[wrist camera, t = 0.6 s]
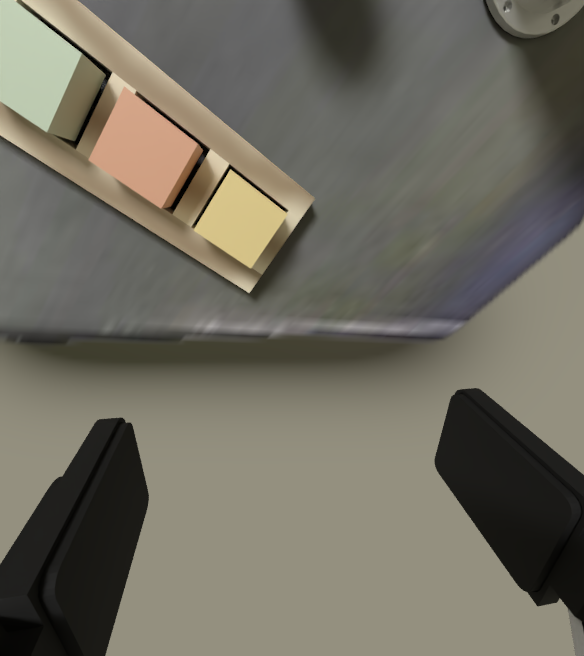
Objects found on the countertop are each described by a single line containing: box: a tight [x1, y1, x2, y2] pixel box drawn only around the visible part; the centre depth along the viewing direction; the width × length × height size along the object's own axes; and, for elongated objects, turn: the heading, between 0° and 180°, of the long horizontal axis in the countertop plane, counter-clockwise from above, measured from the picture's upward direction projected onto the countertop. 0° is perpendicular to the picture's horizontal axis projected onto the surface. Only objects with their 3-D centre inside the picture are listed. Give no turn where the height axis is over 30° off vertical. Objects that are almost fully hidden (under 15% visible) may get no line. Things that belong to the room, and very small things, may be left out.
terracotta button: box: [89, 87, 203, 209], centre depth 27 cm, size 6×6×4 cm
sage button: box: [0, 0, 106, 141], centre depth 24 cm, size 6×6×4 cm
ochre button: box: [194, 169, 288, 269], centre depth 30 cm, size 6×6×4 cm
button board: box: [0, 0, 315, 293], centre depth 30 cm, size 12×28×3 cm, turn 54°
